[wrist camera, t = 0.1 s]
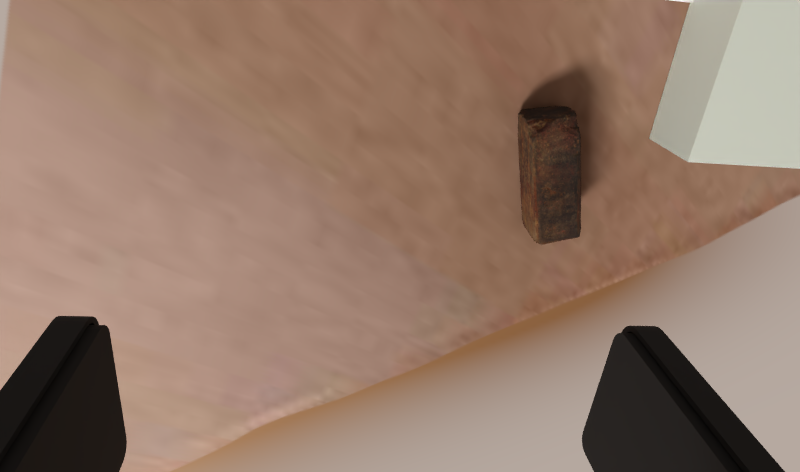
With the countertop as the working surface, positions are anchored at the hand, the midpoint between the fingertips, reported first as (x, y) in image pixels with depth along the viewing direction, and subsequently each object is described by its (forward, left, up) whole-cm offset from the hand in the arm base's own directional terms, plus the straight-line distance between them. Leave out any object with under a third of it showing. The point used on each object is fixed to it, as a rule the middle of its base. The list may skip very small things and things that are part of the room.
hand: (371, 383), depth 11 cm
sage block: (-2, +34, -37) cm, 50 cm away
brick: (+8, +18, -37) cm, 42 cm away
